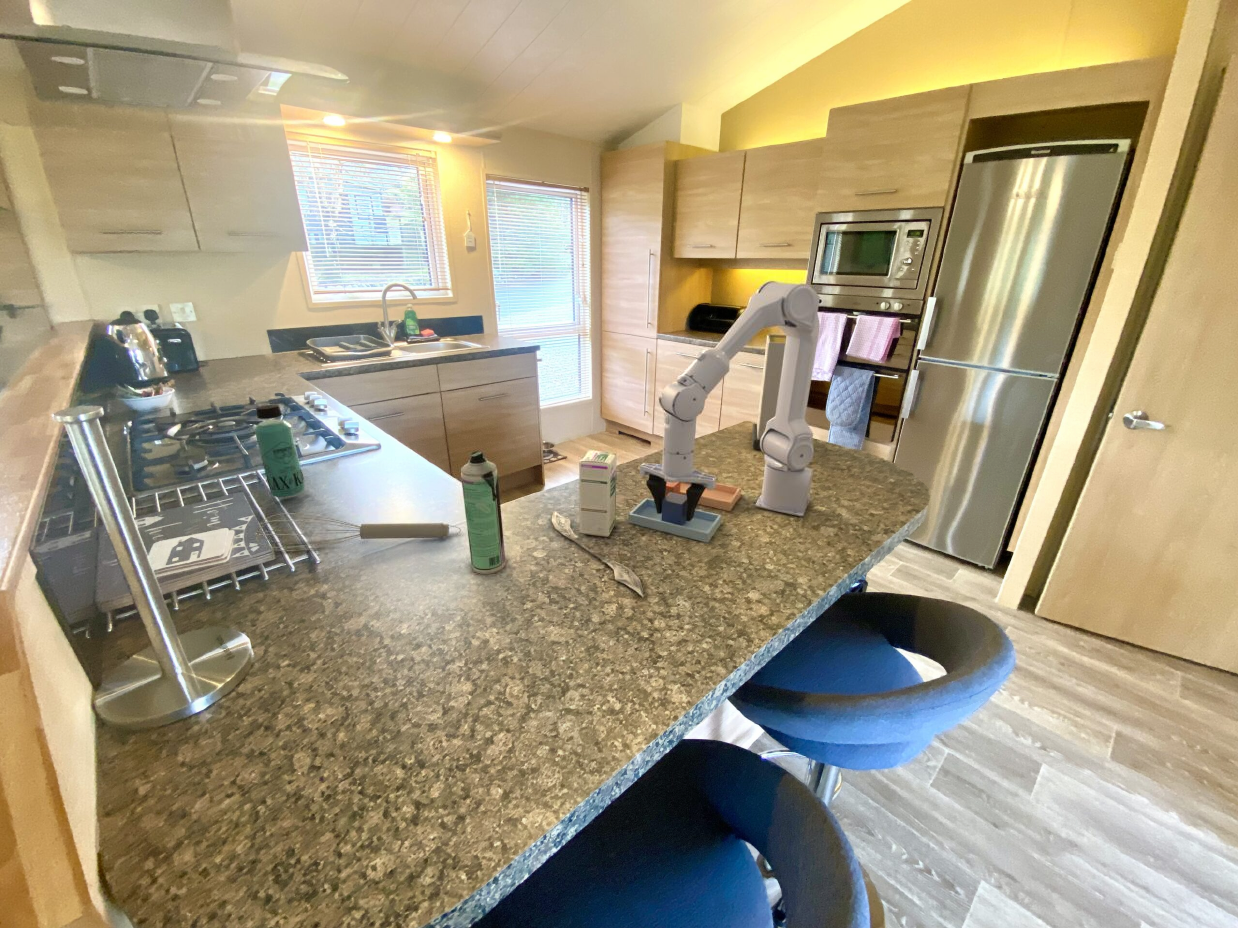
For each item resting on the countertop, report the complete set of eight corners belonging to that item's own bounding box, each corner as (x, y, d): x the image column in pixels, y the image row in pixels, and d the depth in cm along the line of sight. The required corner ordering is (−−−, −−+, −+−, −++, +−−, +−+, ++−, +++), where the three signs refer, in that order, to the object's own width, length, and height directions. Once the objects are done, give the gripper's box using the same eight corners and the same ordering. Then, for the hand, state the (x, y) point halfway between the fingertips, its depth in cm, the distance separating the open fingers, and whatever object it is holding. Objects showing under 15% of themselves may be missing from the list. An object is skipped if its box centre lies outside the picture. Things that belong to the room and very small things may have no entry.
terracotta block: (679, 502, 108) (680, 480, 106) (672, 509, 105) (673, 487, 103) (662, 498, 110) (662, 476, 108) (654, 505, 106) (655, 483, 105)
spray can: (511, 559, 88) (502, 449, 80) (494, 576, 83) (482, 461, 75) (483, 553, 89) (472, 444, 82) (465, 570, 84) (450, 456, 77)
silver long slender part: (556, 511, 103) (535, 518, 101) (556, 509, 103) (535, 515, 100) (664, 588, 80) (640, 600, 77) (664, 585, 80) (640, 597, 77)
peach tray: (740, 495, 111) (741, 487, 110) (729, 511, 104) (730, 502, 104) (671, 481, 118) (671, 473, 117) (657, 494, 111) (657, 486, 111)
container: (777, 443, 149) (790, 336, 142) (782, 455, 131) (796, 333, 125) (751, 441, 150) (762, 335, 144) (752, 452, 133) (765, 332, 126)
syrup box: (609, 537, 94) (612, 463, 89) (578, 533, 95) (578, 459, 90) (615, 523, 99) (618, 452, 94) (585, 519, 100) (587, 449, 95)
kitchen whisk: (459, 544, 92) (455, 512, 90) (253, 560, 87) (243, 527, 85) (463, 527, 98) (459, 497, 95) (270, 541, 93) (261, 510, 90)
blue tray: (721, 523, 99) (721, 515, 99) (707, 542, 93) (708, 533, 92) (645, 505, 106) (646, 497, 106) (628, 522, 100) (628, 513, 99)
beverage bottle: (264, 500, 107) (238, 408, 100) (294, 488, 113) (271, 399, 106) (286, 506, 105) (261, 412, 98) (315, 493, 111) (293, 403, 103)
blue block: (688, 519, 100) (689, 496, 98) (680, 528, 97) (682, 504, 95) (669, 514, 102) (670, 491, 100) (661, 523, 99) (662, 499, 97)
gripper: (633, 449, 94) (631, 515, 99) (709, 463, 87) (704, 533, 93) (649, 437, 99) (647, 500, 105) (722, 450, 93) (716, 517, 98)
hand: (675, 515), depth 99 cm, fingers open, 5 cm apart
